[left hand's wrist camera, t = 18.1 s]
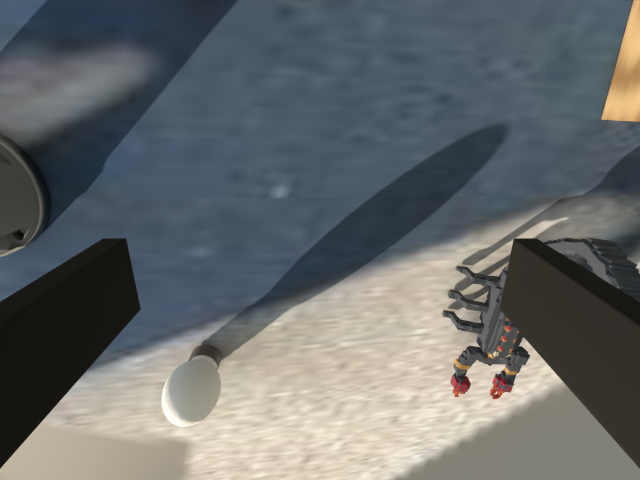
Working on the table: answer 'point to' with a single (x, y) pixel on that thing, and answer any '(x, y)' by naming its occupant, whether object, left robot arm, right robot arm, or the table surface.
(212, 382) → the light bulb
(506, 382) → the toy
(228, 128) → the table surface
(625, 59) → the long box
